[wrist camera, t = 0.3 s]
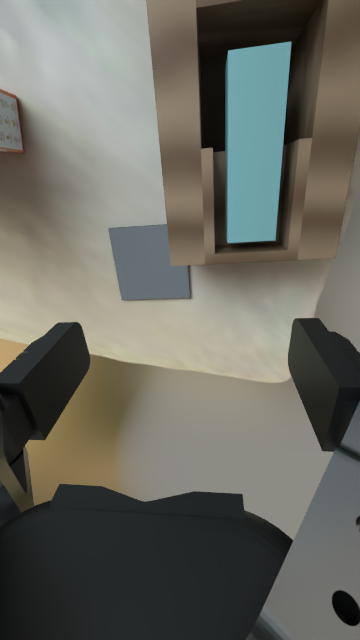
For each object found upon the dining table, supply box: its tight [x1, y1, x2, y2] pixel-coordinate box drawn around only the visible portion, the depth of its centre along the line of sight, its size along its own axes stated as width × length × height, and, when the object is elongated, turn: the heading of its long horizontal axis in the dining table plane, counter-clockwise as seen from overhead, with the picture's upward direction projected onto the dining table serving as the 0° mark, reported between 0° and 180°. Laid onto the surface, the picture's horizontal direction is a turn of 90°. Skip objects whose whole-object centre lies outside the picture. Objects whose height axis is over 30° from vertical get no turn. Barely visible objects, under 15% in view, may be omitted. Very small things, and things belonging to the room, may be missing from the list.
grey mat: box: [109, 224, 190, 300], centre depth 37 cm, size 10×10×1 cm
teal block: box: [225, 42, 291, 243], centre depth 25 cm, size 14×4×4 cm, turn 4°
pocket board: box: [146, 0, 360, 266], centre depth 26 cm, size 20×16×9 cm
